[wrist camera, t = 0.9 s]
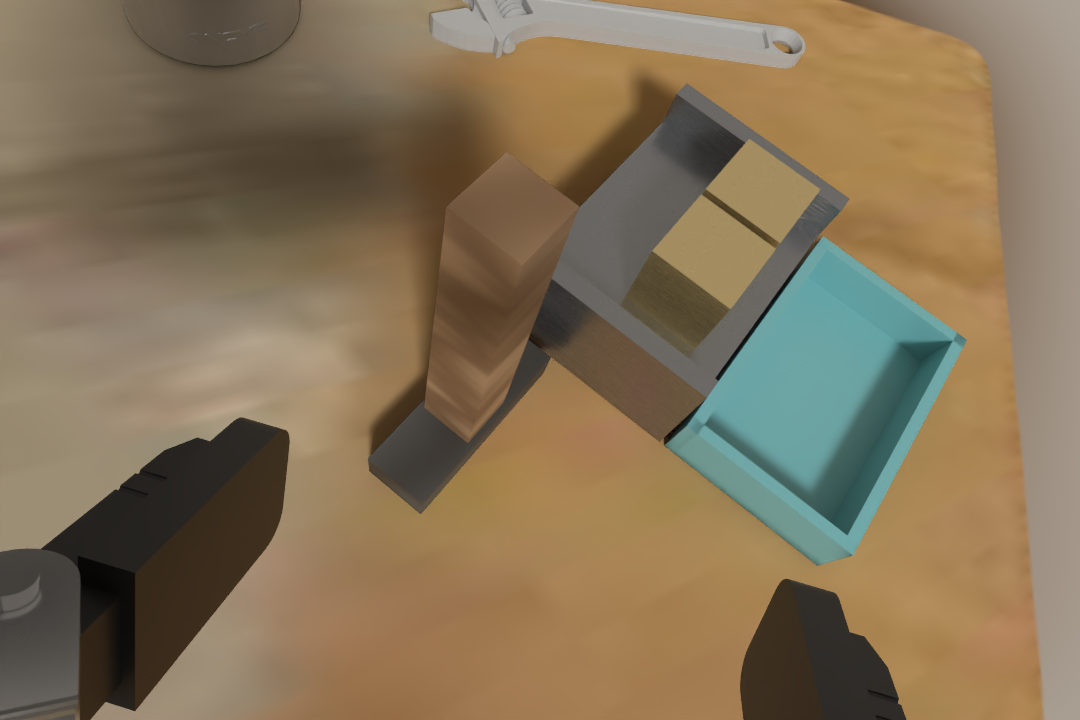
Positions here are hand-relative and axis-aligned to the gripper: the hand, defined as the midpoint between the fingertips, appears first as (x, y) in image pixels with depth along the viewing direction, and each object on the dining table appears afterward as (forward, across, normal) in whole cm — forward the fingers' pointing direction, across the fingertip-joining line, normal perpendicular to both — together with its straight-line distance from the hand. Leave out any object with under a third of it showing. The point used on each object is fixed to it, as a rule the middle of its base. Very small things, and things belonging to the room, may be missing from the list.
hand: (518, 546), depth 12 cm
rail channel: (+29, -3, +4) cm, 29 cm away
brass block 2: (+28, -6, 0) cm, 28 cm away
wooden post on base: (+20, +4, +10) cm, 23 cm away
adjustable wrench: (+42, +4, -7) cm, 42 cm away
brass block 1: (+24, -4, +3) cm, 25 cm away
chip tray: (+27, -12, +7) cm, 30 cm away
